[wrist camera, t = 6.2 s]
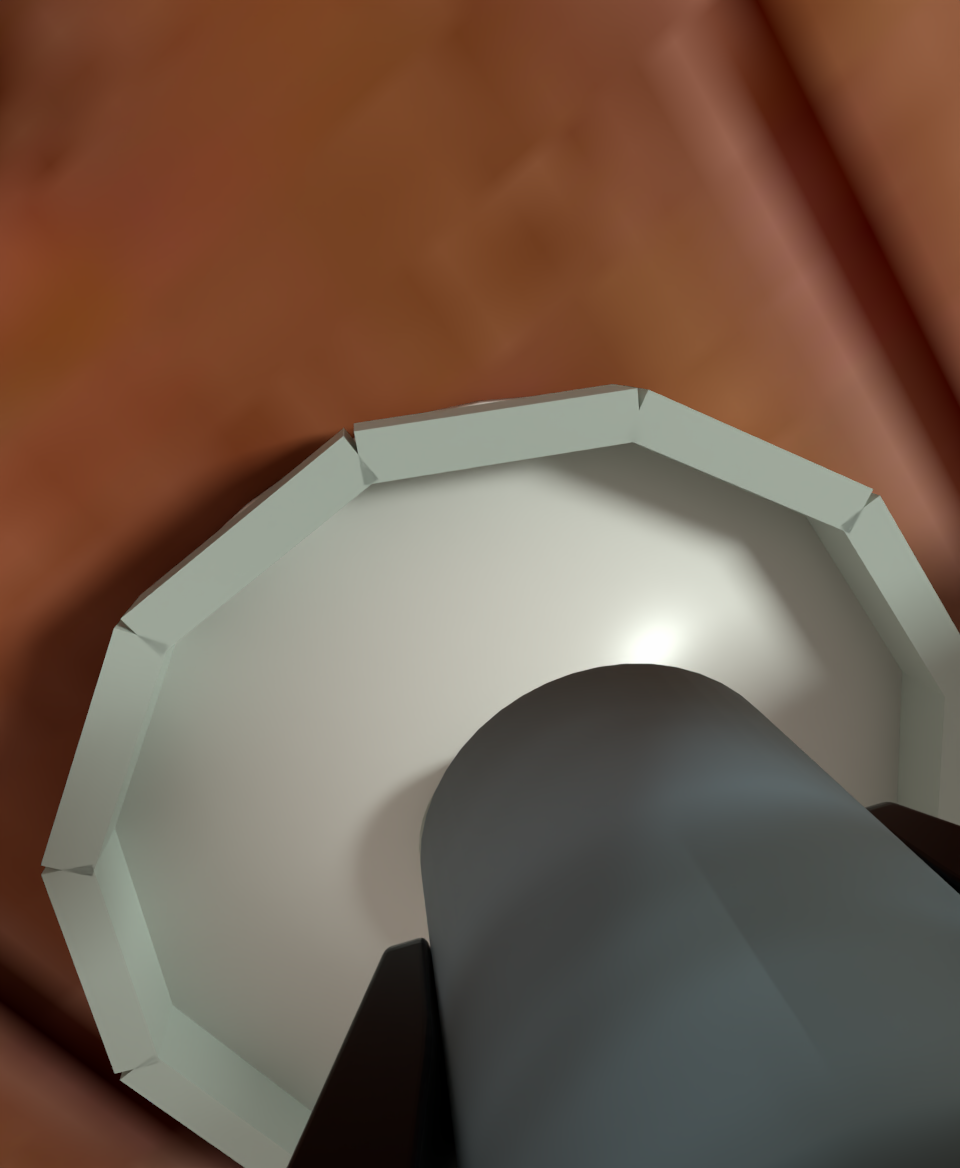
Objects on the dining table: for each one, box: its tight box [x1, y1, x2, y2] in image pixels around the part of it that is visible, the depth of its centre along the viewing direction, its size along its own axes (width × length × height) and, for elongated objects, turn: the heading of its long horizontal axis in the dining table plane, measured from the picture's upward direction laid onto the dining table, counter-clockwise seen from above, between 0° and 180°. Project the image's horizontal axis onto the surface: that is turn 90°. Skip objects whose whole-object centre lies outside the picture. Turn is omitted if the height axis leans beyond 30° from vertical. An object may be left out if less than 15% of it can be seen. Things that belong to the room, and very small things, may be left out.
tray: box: [41, 384, 960, 1168], centre depth 19 cm, size 21×21×2 cm
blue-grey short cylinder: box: [420, 664, 960, 1168], centre depth 7 cm, size 4×4×5 cm
